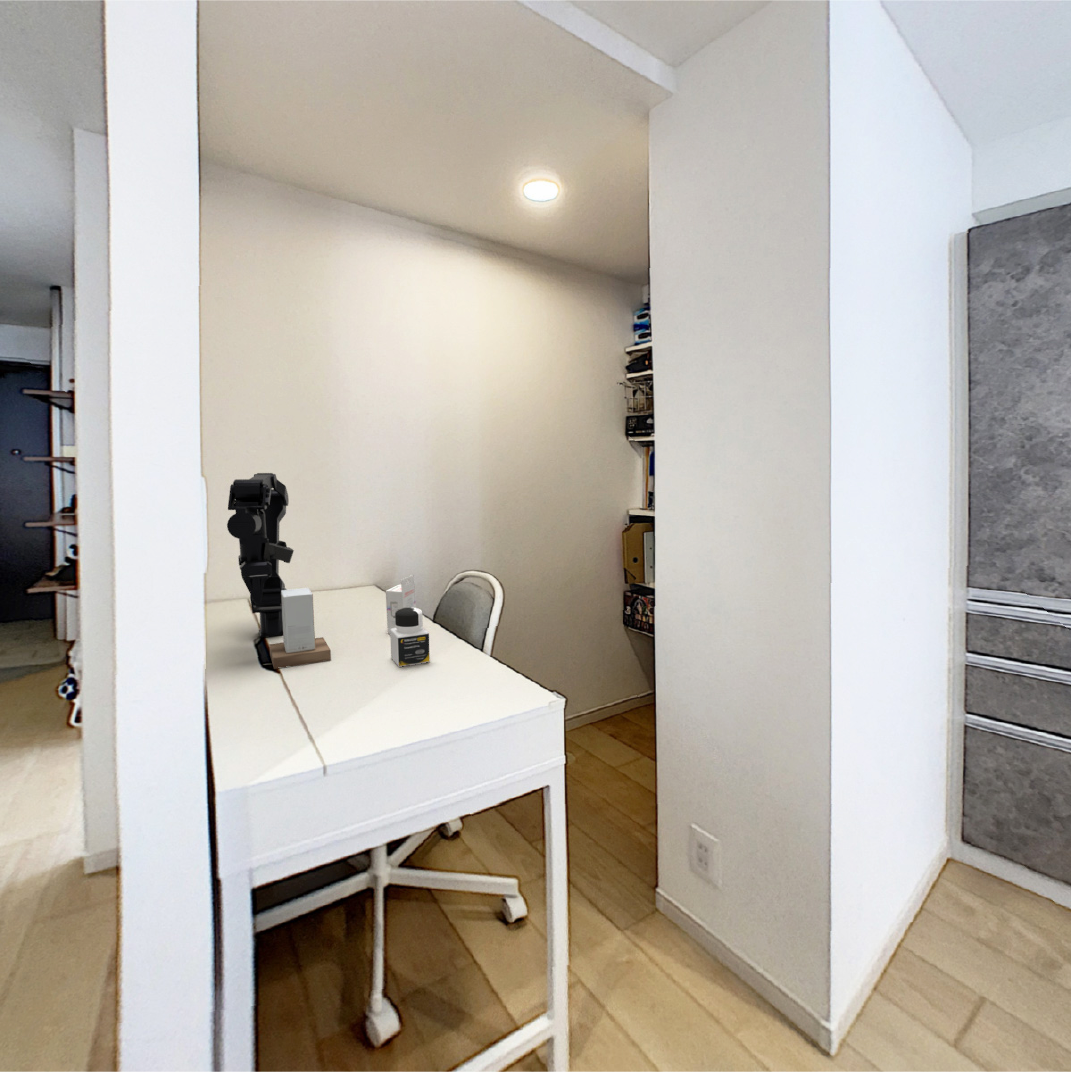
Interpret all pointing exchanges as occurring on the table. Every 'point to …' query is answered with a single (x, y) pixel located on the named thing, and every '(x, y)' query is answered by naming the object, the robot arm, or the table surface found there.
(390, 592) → the ink cartridge box
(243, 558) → the robot arm
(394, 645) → the medicine bottle
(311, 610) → the small box
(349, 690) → the table surface
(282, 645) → the brown wooden slab
